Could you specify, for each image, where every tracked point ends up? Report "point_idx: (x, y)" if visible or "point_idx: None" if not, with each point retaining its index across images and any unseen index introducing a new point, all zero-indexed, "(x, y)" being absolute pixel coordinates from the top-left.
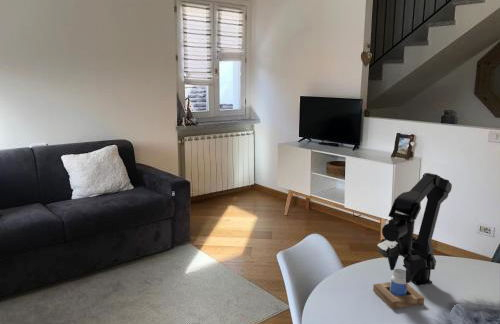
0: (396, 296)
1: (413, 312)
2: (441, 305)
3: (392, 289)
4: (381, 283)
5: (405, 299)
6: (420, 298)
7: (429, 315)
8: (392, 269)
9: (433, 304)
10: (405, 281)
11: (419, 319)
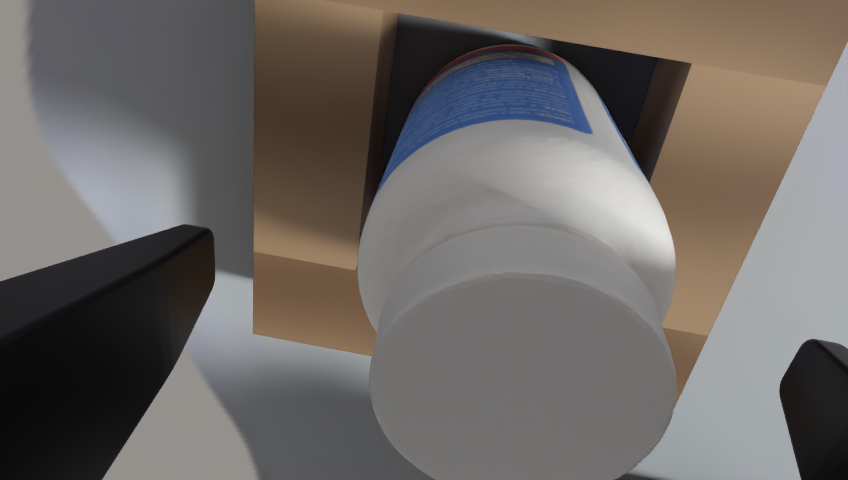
0: (440, 78)
1: (167, 74)
2: (230, 401)
3: (512, 75)
4: (813, 97)
5: (274, 100)
6: (254, 288)
7: (91, 189)
8: (798, 376)
9: (261, 360)
10: (363, 296)
11: (26, 29)
